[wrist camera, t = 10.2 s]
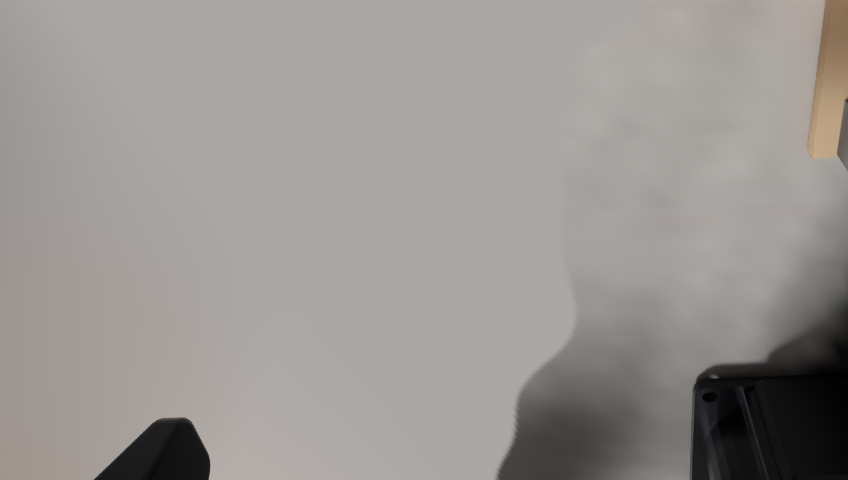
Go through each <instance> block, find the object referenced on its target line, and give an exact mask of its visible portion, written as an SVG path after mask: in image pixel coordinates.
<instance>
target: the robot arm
mask: <svg viewBox="0 0 848 480" xmlns="http://www.w3.org/2000/svg"><path fill="white" fill-rule="evenodd" d="M709 392H712V393H710V394H705V393H709ZM209 474H210V459H209V455H208V453H207V451H206V448H205V447H204V445H203V443H202V441H201V439H200V437H199V435H198V433H197V431H196V429H195V428H194V425H193V424H192V422H191V421H190V420H188V419H187V418H162V419H159V420H157V421H155V422H154V423H152V424H151V425H150V426H149V427H148V428H147V429H146V430H145V431H144V432H143V433H142V434H141V435H140V436H139V437H138V438H137V439H136V440H135V441H134V442H132V444H131V445H130V446H128V447H127V448H126V449H125V450H124V451H123V452H122V453H121V454H120V455H119V456H118V457H117V458H116V459H115V460H114V461H113V462H112V463H111V464H110V465H109V466H108V467H106V468H105V469H104V470H103V471H102V472H101V473H100V474H99V475H98V476H97V477H96V478H95V479H94V480H209ZM690 480H848V374H833V375H803V376H774V377H744V378H715V379H704V380H701V381H699V382H697V383H696V384H695V385H694V387H693V400H692V428H691V456H690Z"/></svg>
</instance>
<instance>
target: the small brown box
mask: <svg viewBox="0 0 848 480" xmlns="http://www.w3.org/2000/svg"><path fill="white" fill-rule="evenodd" d="M807 150H808V152H809V154H810V156H811V157H812V159H818V158H829V157H839V158H840V160H841V161H842V163H843V164H844V166H845V168H846V169H847V171H848V0H826V3H825V11H824V19H823V27H822V35H821V43H820V51H819V59H818V67H817V75H816V83H815V91H814V100H813V108H812V116H811V124H810V132H809V140H808V148H807Z"/></svg>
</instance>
